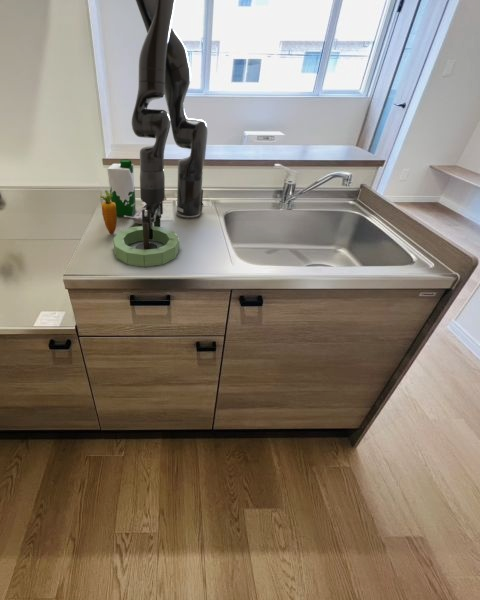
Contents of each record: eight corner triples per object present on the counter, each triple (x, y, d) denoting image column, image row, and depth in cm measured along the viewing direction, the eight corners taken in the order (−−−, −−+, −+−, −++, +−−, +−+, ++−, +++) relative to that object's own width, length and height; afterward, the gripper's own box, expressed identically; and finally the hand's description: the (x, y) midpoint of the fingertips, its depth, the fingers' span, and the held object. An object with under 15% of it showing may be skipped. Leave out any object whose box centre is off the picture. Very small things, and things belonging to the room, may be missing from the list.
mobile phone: (122, 215, 108) (148, 192, 127) (124, 231, 112) (149, 207, 131) (139, 218, 107) (162, 194, 126) (139, 234, 111) (162, 209, 130)
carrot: (116, 238, 107) (111, 194, 98) (102, 237, 108) (96, 193, 99) (121, 232, 111) (117, 189, 102) (108, 231, 112) (102, 188, 103)
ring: (149, 231, 112) (148, 220, 110) (190, 250, 101) (191, 239, 99) (102, 250, 101) (100, 238, 98) (143, 273, 90) (143, 261, 87)
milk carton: (132, 218, 121) (129, 163, 109) (110, 217, 122) (103, 162, 110) (138, 210, 128) (135, 158, 116) (116, 209, 129) (111, 156, 117)
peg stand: (147, 243, 105) (146, 215, 99) (162, 250, 101) (161, 222, 95) (131, 250, 101) (129, 222, 95) (145, 257, 97) (144, 229, 91)
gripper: (157, 192, 90) (157, 244, 100) (170, 179, 102) (169, 226, 111) (132, 190, 92) (135, 241, 101) (148, 177, 103) (149, 224, 113)
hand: (153, 233), depth 106 cm, fingers open, 8 cm apart
